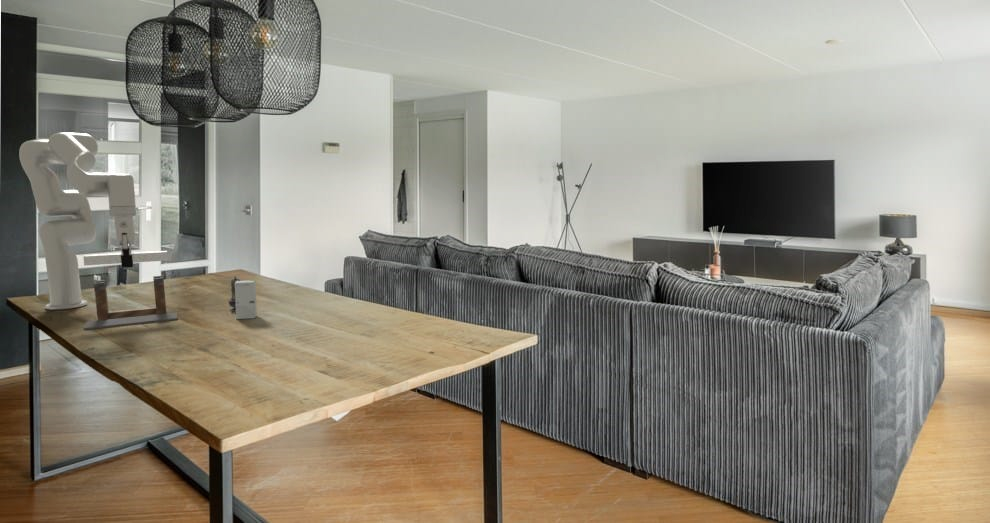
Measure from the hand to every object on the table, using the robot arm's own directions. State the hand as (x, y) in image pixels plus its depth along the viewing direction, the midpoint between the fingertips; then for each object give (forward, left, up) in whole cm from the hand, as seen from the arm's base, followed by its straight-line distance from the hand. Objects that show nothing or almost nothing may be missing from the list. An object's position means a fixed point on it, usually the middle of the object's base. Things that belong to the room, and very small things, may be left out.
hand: (127, 266), depth 209 cm
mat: (+9, -5, -17) cm, 20 cm away
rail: (0, 0, +1) cm, 1 cm away
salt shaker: (+24, +23, -17) cm, 38 cm away
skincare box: (+37, +17, -17) cm, 45 cm away
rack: (0, 0, -17) cm, 17 cm away
